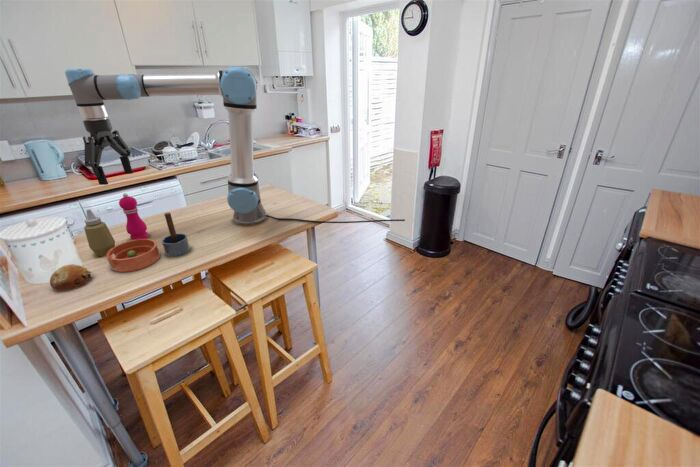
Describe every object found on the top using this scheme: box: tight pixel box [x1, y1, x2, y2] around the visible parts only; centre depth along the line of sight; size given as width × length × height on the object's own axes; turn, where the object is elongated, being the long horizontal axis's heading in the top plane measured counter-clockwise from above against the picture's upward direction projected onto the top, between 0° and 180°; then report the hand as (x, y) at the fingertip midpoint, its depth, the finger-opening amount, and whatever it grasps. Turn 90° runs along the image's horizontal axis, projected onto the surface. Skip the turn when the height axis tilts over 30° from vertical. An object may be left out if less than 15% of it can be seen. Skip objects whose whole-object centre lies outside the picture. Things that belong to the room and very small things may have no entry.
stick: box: [164, 211, 178, 243], centre depth 120 cm, size 2×2×16 cm
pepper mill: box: [118, 193, 149, 240], centre depth 130 cm, size 7×7×20 cm
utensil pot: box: [161, 233, 191, 258], centre depth 123 cm, size 9×9×6 cm
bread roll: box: [49, 263, 92, 292], centre depth 105 cm, size 10×10×8 cm
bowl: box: [105, 238, 161, 273], centre depth 116 cm, size 16×16×6 cm
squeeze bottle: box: [83, 208, 116, 257], centre depth 120 cm, size 8×8×18 cm
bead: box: [127, 250, 137, 258], centre depth 118 cm, size 3×3×3 cm
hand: (117, 178), depth 119 cm, fingers open, 13 cm apart
